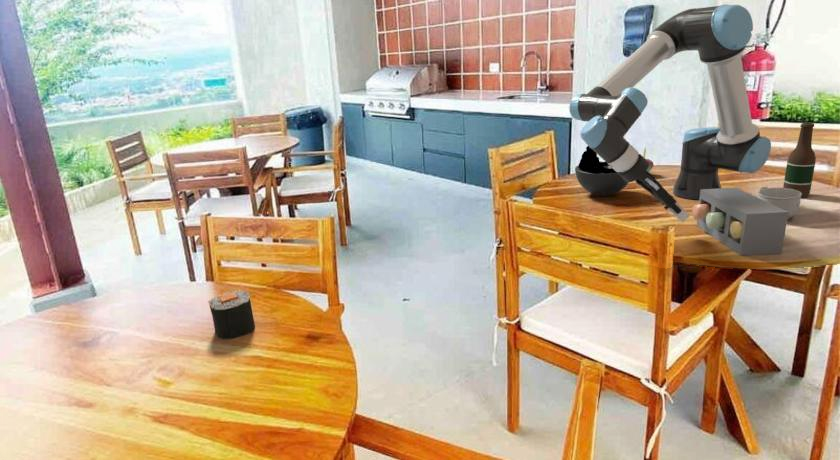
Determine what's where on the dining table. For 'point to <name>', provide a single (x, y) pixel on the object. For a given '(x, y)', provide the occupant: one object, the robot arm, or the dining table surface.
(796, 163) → the beer bottle
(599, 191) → the bowl of black rocks
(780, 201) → the teacup
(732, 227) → the ochre button
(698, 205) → the terracotta button
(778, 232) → the console
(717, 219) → the sage button
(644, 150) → the cupcake
